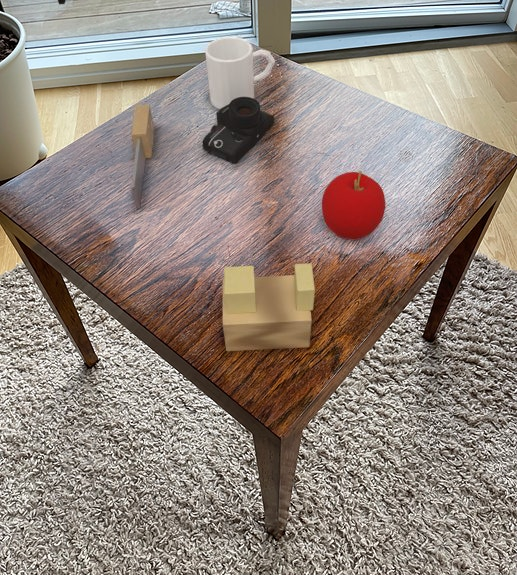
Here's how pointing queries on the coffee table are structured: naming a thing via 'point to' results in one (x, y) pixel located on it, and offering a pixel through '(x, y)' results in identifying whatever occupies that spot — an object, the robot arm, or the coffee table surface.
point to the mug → (233, 69)
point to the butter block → (239, 289)
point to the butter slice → (304, 287)
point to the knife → (141, 147)
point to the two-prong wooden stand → (269, 319)
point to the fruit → (353, 205)
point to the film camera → (237, 129)
